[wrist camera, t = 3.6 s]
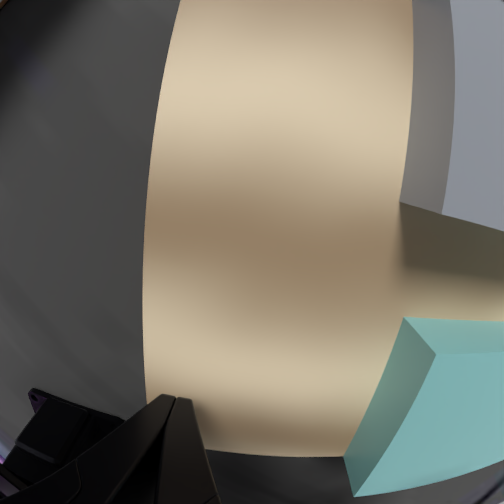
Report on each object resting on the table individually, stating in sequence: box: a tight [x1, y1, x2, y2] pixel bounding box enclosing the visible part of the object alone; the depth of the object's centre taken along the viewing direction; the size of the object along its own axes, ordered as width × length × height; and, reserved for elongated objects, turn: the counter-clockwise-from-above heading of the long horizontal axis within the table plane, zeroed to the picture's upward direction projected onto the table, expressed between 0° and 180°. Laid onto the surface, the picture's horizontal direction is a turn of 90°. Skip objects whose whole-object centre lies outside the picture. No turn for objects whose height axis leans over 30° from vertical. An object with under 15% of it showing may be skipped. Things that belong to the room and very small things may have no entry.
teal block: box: [343, 317, 504, 497], centre depth 8 cm, size 6×8×2 cm
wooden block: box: [143, 0, 504, 457], centre depth 9 cm, size 15×18×4 cm
